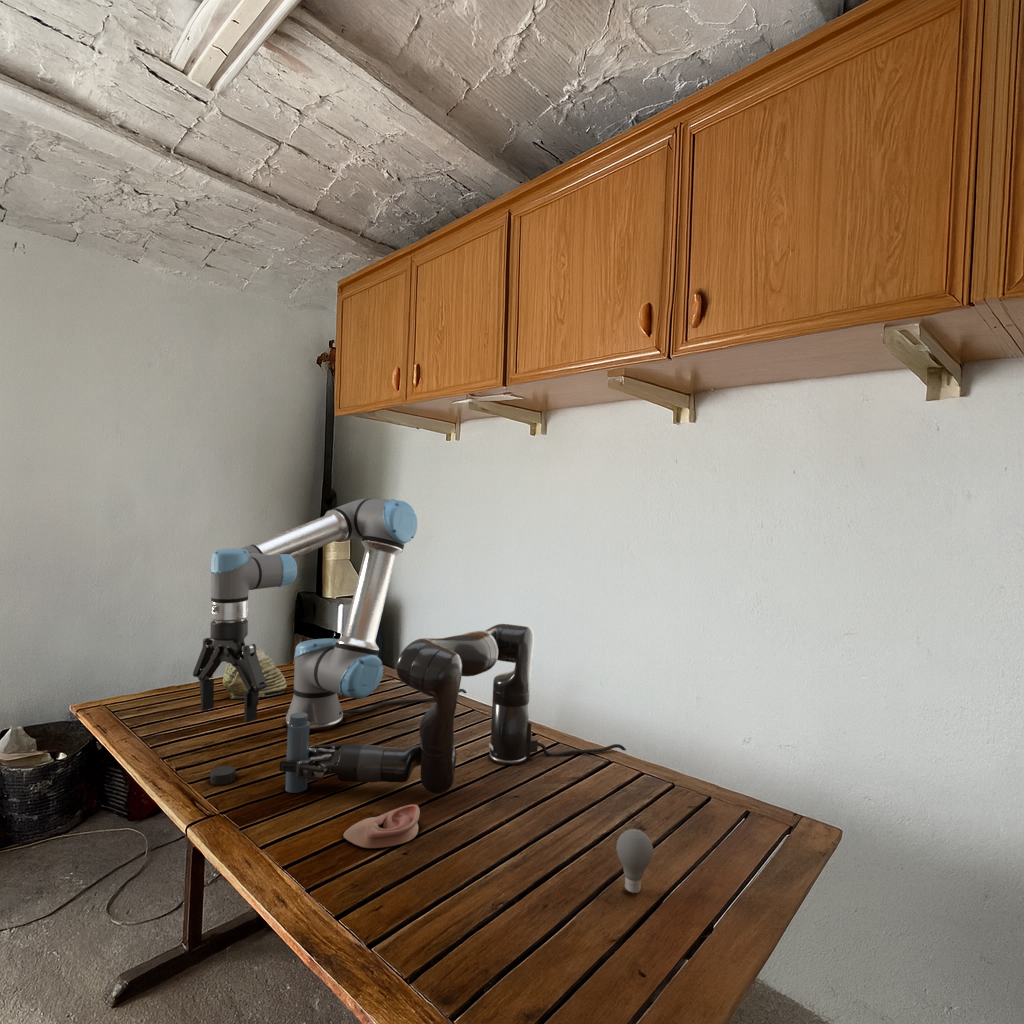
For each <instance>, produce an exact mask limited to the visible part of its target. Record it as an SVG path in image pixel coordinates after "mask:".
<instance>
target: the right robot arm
mask: <svg viewBox="0 0 1024 1024" xmlns="http://www.w3.org/2000/svg"><path fill="white" fill-rule="evenodd" d="M534 650H535V633H534V631H533V629H532V627H530V626H525V625H520V624H519V625H518V624H509V623H497V624H495V625H492V626H491V627H489V628H487V629H485V630H475V631H470V632H465V633H461V634H458V635H457V634H455V635H451V636H447V637H446V636H445V637H437V638H435V637H434V638H433V637H432V638H431V637H421V638H418V639H416V640H413V641H411V642H410V643H409V644H408V645H406V646H405V647H404V649H403V650H402V651H401V652H400V655H399V656H398V658H397V661H396V666H395V667H396V668H395V669H396V674H397V677H398V678H399V680H400V681H401V682H402V683H403V684H405V686H407V687H410V688H412V689H413V690H416V691H417V692H420V693H422V694H423V695H426V696H428V697H430V698H435V704H434V705H432V706H431V707H430V708H429V709H428V710H427V711H426V712H425V713H424V714H423V716H422V717H421V720H420V723H419V728H418V729H419V743H420V744H416V745H412V746H407V747H394V746H393V747H390V746H381V745H376V744H375V745H374V744H356V743H345V744H343V745H342V744H341V743H337V744H336V743H335V744H334V743H332V744H331V743H329V744H314V745H313V747H309V757H308V760H302V761H298V760H286V759H281V760H280V762H279V767H278V769H279V772H282V773H286V772H297V778H301V779H308V780H309V781H315V782H323V781H325V776H328V775H334V774H335V775H336V776H337V779H338V780H339V781H340V782H347V783H349V782H350V783H371V784H372V783H397V784H398V783H400V784H401V783H406V782H408V781H409V780H410V778H411V776H412V773H413V771H414V770H415V769H416V768H418V767H420V782H421V784H422V786H423V788H424V790H426V791H427V792H429V793H431V794H434V795H440V794H444V793H446V792H447V791H449V790H450V789H451V788H452V786H453V784H454V781H455V774H456V766H457V765H456V763H457V754H458V753H457V750H456V747H455V715H456V710H457V705H458V700H459V695H460V693H459V689H461V682H462V677H475V676H478V675H481V674H484V673H485V672H488V671H490V670H491V669H492V668H493V667H494V666H495V665H496V664H497V661H498V662H503V663H505V662H506V663H512V664H514V668H513V670H511V671H508V672H502V673H499V674H497V675H496V676H494V677H493V681H492V700H491V701H492V702H491V703H492V704H491V705H492V706H491V725H490V741H489V742H488V747H489V759H490V760H491V761H493V762H495V763H497V764H501V765H508V766H509V765H519V764H523V763H525V762H526V761H528V760H529V761H530V760H531V754H532V753H537V752H538V747H540V748H541V749H542V752H543V754H544V755H545V756H547V757H563V756H568V755H576V754H577V755H578V754H594V753H595V754H596V753H603V752H606V751H609V750H612V749H617V748H618V749H620V750H622V751H627V749H626V747H625V746H623V745H622V744H619V743H614V744H611V745H608V746H605V747H601V748H590V749H589V748H588V749H573V750H566V751H562V752H557V753H554V752H549V751H547V747H546V745H545V744H544V743H542V742H539V741H538V739H537V738H536V737H535V736H533V735H532V721H531V719H529V718H530V717H529V716H530V693H531V692H530V691H531V680H532V672H533V660H534V659H533V658H534ZM306 764H308V765H306Z"/></svg>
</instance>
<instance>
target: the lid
mask: <svg viewBox="0 0 1024 1024" xmlns="http://www.w3.org/2000/svg"><path fill="white" fill-rule="evenodd" d="M236 773H237V772H236V768H235V767H234V766H231V765H221V766H217V767H215V768H212V769H211V770H210V773H209V783H210V784H211V785H215V786H223V785H228V784H231V783H233V782H234V781H235V780H236Z"/></svg>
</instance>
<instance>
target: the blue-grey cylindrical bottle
mask: <svg viewBox="0 0 1024 1024" xmlns="http://www.w3.org/2000/svg"><path fill="white" fill-rule="evenodd" d="M286 728H287V730H286V754H285V755H286V757H285V760H298V761H302V760H308V757H309V748H310V732H309V731H310V722H309V721H308V714H307V713H303V712H299V713H293V714H291V715H290V722H289V723H288V727H287V726H286ZM306 765H309V764H306ZM284 782H285V784H284V785H285V786H284V790H285V792H287V793H290V794H299V793H302V792H304V791H306V790H307V789H308V784H309V783H308V779H301V778H297V772H285V781H284Z"/></svg>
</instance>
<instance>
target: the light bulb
mask: <svg viewBox="0 0 1024 1024" xmlns="http://www.w3.org/2000/svg"><path fill="white" fill-rule="evenodd" d="M615 849H616V854H617V857H618V859H619V861H620V863H621V865H622V867H623V873H624V874H623V875H624V876H625V878H624V888H625V890H627V891H628V892H630V893H634V894H635V893H639V892H640V891H641V889H642V887H641V886H642V879H643V877H644V875H645V871H646V868H647V867H648V866H649V864H650V863H651V861H652V859H653V855H654V847H653V843H652V841H651V838H649V836H648V835H647V834H646V833H645V832H643V831H642V830H641V829H636V828H629V829H627V830H625V831H623V832H622V833H621V834H620V835H619V837H618V839H617V841H616V847H615Z"/></svg>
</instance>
